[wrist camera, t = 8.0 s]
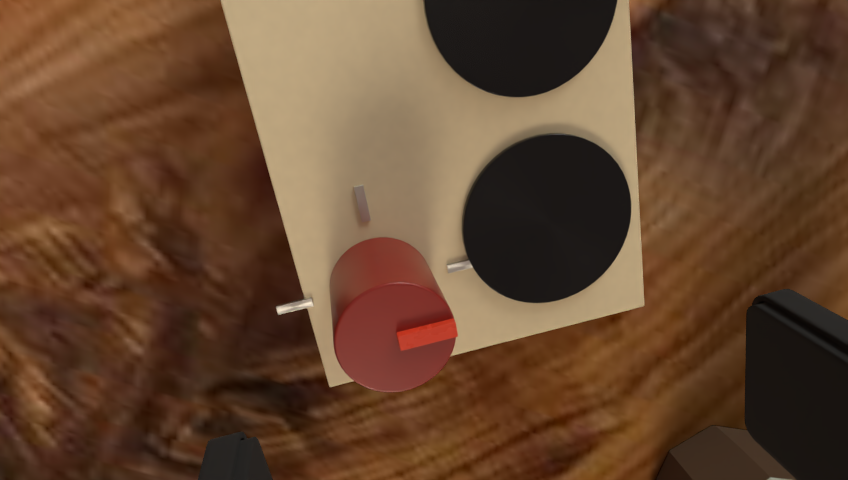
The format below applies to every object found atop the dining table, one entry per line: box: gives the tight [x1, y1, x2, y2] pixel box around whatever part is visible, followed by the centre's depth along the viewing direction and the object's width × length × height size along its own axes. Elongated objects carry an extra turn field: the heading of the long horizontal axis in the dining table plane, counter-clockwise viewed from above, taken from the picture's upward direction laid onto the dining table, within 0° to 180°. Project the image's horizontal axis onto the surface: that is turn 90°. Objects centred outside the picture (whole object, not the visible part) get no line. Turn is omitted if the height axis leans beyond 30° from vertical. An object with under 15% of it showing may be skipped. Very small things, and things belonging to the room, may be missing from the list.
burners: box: [423, 0, 631, 303], centre depth 22 cm, size 16×7×1 cm, turn 10°
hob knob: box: [329, 237, 458, 392], centre depth 21 cm, size 4×4×5 cm
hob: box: [220, 0, 644, 387], centre depth 23 cm, size 18×15×3 cm
